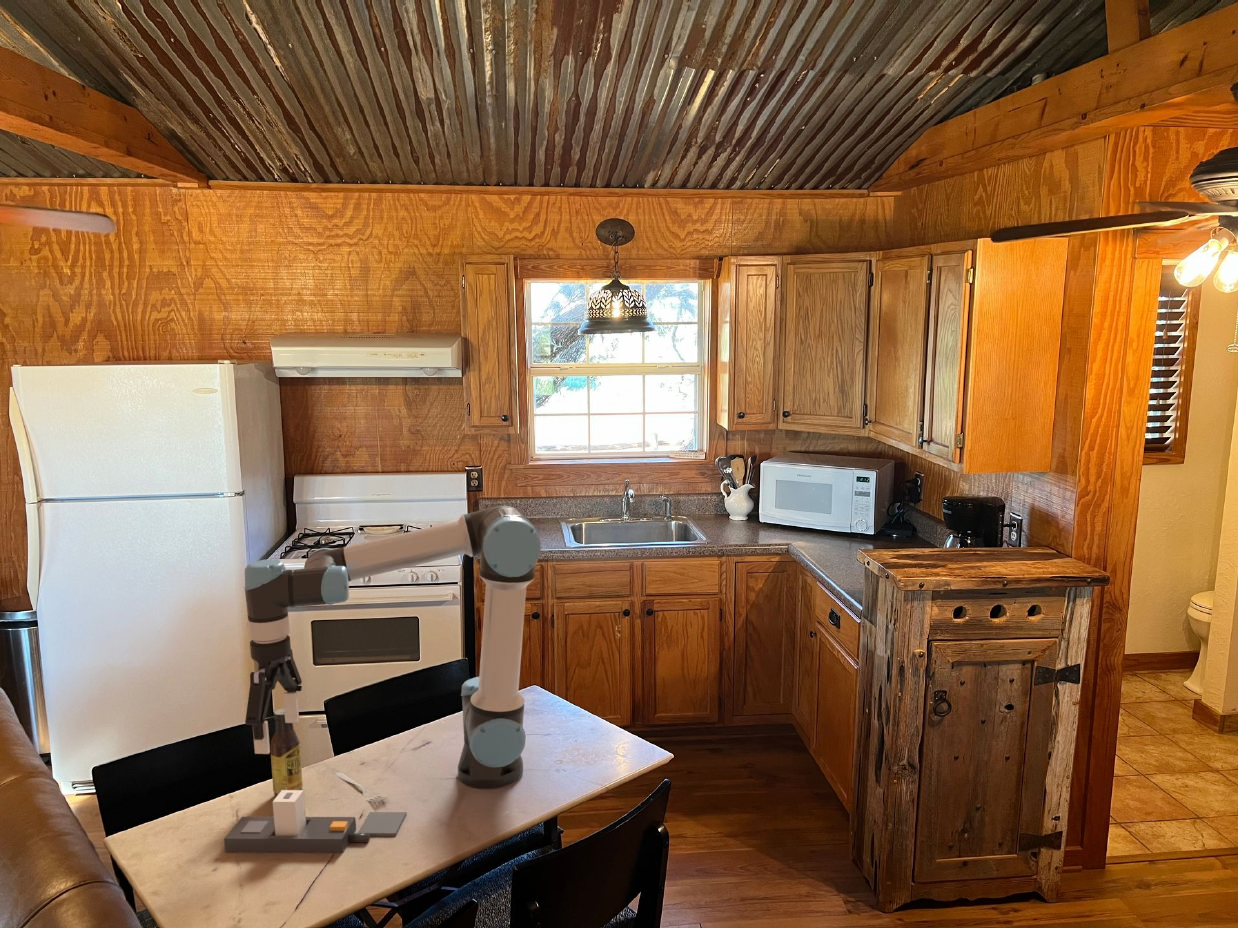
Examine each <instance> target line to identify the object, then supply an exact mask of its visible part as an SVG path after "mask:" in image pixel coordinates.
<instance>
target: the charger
mask: <svg viewBox="0 0 1238 928" xmlns="http://www.w3.org/2000/svg"><path fill="white" fill-rule="evenodd" d="M272 810H273V811H272V812H273V817H274V823H275V835H276V836H300V835H301V833H302V832H303V830H304V829H305V827H306V817H307V815H306V806H305V792H304V789H302V790H282V791H281V792H280V793H279V794H278V796H277V797H276V798H275V797H274V799H273V801H272Z"/></svg>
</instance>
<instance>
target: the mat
mask: <svg viewBox="0 0 1238 928" xmlns="http://www.w3.org/2000/svg"><path fill="white" fill-rule="evenodd" d="M406 817H407V811H369V812H368V815H367V816H366V818H365V819H364V821H363V823H362V824H361V826H360V828H359V830H358V831H357V834H370V837H379V836H380V837H396V836H397V835H398V834H399V831H400V828H401V827H402V825H403V823H404V821H405V819H406Z"/></svg>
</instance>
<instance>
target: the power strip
mask: <svg viewBox="0 0 1238 928" xmlns="http://www.w3.org/2000/svg"><path fill="white" fill-rule="evenodd" d="M356 824H357V823H356V816H306V827H305V829H304V830H303V832H302V833H301V835H300V836H276V835H275V823H274V816H241V817H240V818H239V819H238V820H237V822H236V823H235V824H234V826H233V827H232V828H231V829H230V831H229V832H228V833H227V834H226V835H225V836H224V838H223V842H224V852H225V853H275V854H276V853H277V854H278V853H281V854H282V853H284V854H285V853H289V854H290V853H291V854H292V853H295V854H296V853H301V854H302V853H303V854H304V853H305V854H307V853H309V854H310V853H312V854H314V853H315V854H316V853H317V854H318V853H319V854H321V853H322V854H331V853H333V854H343V853H344V852H345V851H346V849H347V847H348V845H349V843H369V842H370V840H371V836H370V834H358V833H356V831H357V825H356Z"/></svg>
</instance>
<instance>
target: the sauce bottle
mask: <svg viewBox="0 0 1238 928" xmlns="http://www.w3.org/2000/svg"><path fill="white" fill-rule="evenodd" d="M273 719H274V725H275V726H274V727H275V729H274V731H275V732H274V734H273V736H272V739H271V741H270V759H271V763H270V764H271V775H272V777H271V778H272V790H273V791H272V792H273V793H274V794H273V795H274V799H275V798H276V797H277V796H278V794H279V793H280V792H281V791H282V790H303V785H304V784H303V783H304V782H303V770H302V769H303V768H302V752H301V742H300V740H299V738H298V735H297V733H296V730H295V729H294V723H285V713H284V707H283V708H282V707H281V708H277V709H276V710H274V712H273Z"/></svg>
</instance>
